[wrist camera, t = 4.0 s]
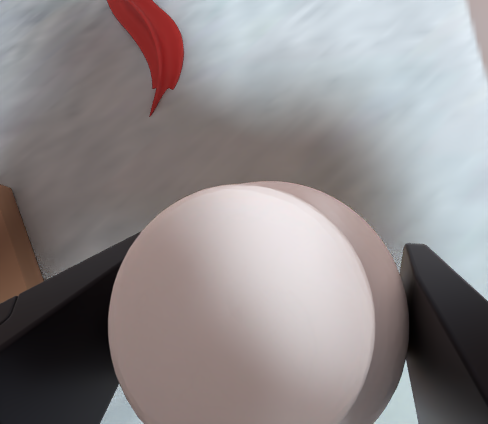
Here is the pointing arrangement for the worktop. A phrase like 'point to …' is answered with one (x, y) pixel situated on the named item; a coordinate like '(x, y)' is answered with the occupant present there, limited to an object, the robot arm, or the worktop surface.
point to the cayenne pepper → (153, 41)
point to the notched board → (15, 250)
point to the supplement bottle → (258, 311)
